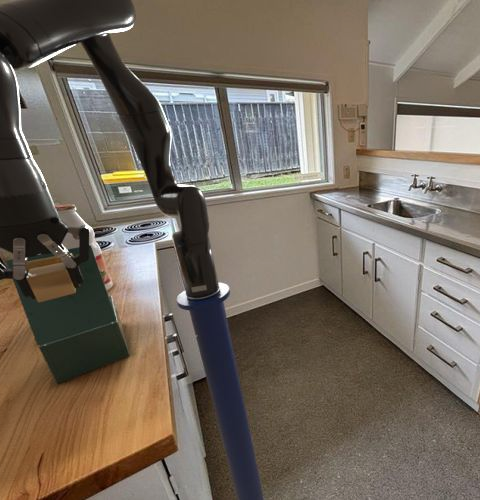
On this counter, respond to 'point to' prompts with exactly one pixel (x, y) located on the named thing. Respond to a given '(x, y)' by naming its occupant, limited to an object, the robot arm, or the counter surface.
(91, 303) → the bin lid
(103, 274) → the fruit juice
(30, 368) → the counter surface
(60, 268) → the block
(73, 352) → the bin
